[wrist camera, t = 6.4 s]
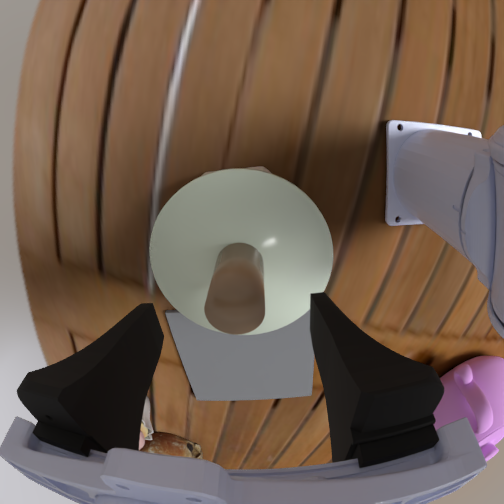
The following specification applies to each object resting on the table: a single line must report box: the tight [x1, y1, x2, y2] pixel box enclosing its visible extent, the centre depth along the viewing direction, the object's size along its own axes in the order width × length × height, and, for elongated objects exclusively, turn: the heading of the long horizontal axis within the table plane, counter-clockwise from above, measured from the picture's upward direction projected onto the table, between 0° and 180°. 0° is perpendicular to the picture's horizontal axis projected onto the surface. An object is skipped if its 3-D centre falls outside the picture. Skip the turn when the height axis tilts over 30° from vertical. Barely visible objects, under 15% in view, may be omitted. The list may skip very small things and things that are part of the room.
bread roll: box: [140, 433, 203, 459], centre depth 35 cm, size 10×10×8 cm
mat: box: [165, 309, 314, 401], centre depth 27 cm, size 13×13×1 cm
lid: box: [150, 168, 333, 335], centre depth 17 cm, size 12×12×6 cm
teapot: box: [433, 356, 504, 461], centre depth 24 cm, size 22×22×14 cm
